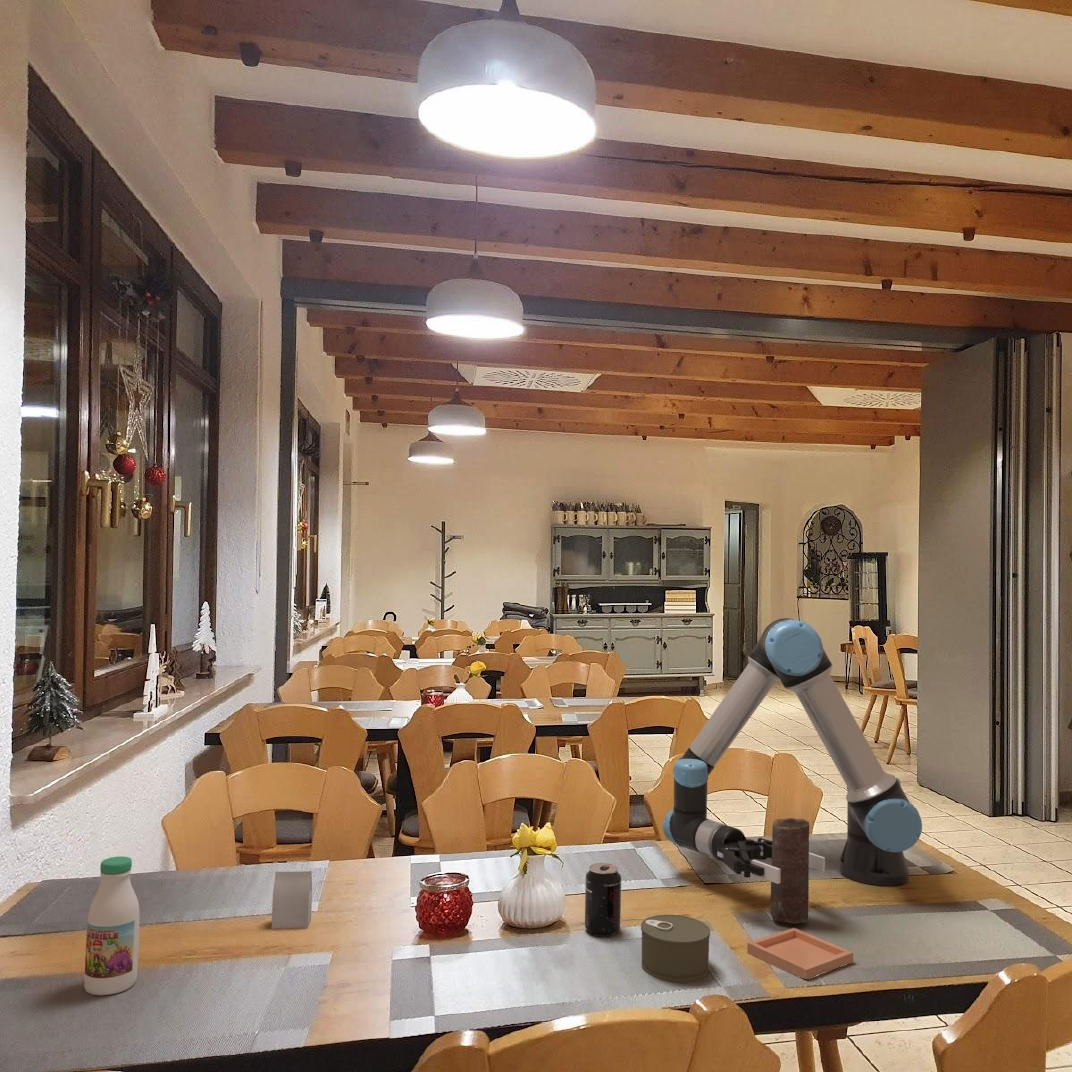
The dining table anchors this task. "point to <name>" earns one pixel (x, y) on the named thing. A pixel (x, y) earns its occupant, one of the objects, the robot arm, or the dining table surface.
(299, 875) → the gray rectangular block
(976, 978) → the dining table surface
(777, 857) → the candle
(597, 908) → the beverage can
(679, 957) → the can
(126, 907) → the milk bottle
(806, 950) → the dish
